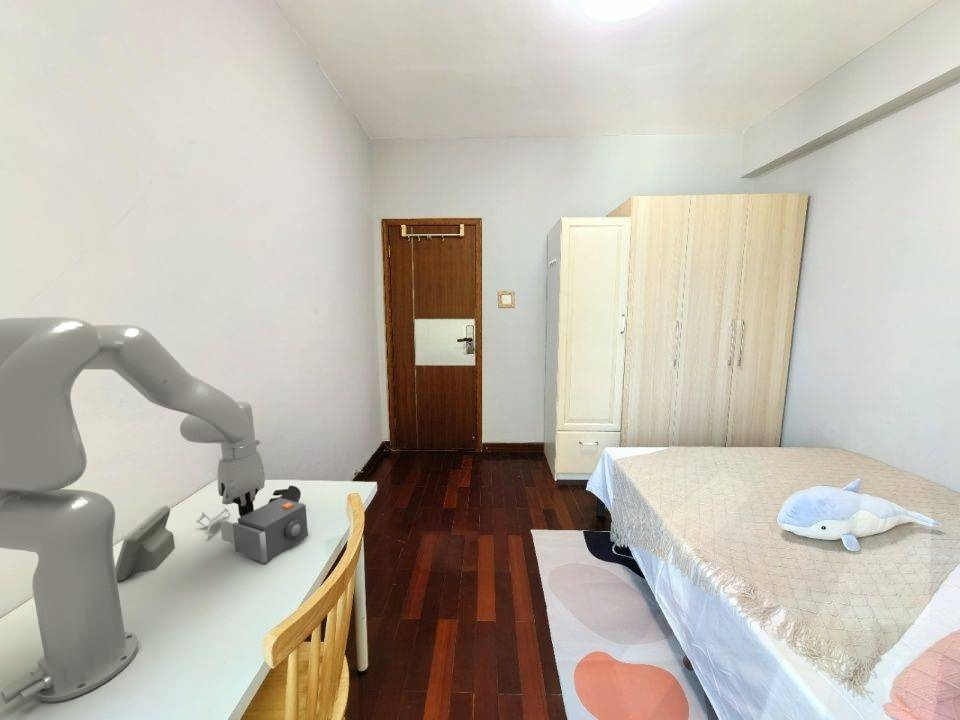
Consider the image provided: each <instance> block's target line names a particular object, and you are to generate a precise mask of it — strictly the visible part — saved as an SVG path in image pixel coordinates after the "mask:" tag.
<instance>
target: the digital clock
mask: <svg viewBox="0 0 960 720" xmlns="http://www.w3.org/2000/svg"><path fill="white" fill-rule="evenodd" d="M170 514H171V508H170V507H169V506H168V505H164V506H161V507H159V508H157V509H156V510H155V511H154V512H153V513H152V514H150V515H149V516H148V517H147V518H146V519H144V520H143V521H142V522H141V523H139V525H137V526H136V527H135V528H134V529H132V530H131V531H130V532H129V533H128V534H127V535H126V536H125V537H124V539H123V542H122V545H121V548H120V550H119V554H118V558H117V561H116V563H115V570H116V577H117V582H120V581H123V580H125V579H127V578H128V577H129V576H131V574H132V573H140V572H147V571H148V572H149V571H155V570H156V569H157V568H158V567H159V566H160V565H161V564H162V562H163V561H164V560H165V559H166V558H168V556H169V555H170V554H171V552H172V551H174V549H175V546H176V545H175V538H174V533H173V532H172V531H171V530H168V529H167V528H166V527H167V523H168V519H169V517H170Z"/></svg>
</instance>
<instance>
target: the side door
mask: <svg viewBox="0 0 960 720" xmlns="http://www.w3.org/2000/svg"><path fill="white" fill-rule="evenodd" d="M220 529H221V530H220V532H221V539H222V541H224V542H226V543H230V544H233V545H234V550H235V551H234V552H235V553H237V554H240V555H242V556H245V557H248V558H251V559H253V560H255V561H258V562H260V563H262V564H266V563H268V562H269V561H268V560H267V549H266V538H265V531H260V530H257V529H254V528H251V527H248V526H245V525H242V524H239V523H237V522H234V523H233V522H230V521H229V520H227V521H226V519H223V520H220ZM267 561H268V562H267Z"/></svg>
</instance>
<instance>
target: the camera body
mask: <svg viewBox="0 0 960 720" xmlns="http://www.w3.org/2000/svg"><path fill="white" fill-rule="evenodd" d="M277 498H278V497H277ZM237 522H238V523H239V524H242V525H245V526H248V527H251V528H254V529H257V530H260V531H265V538H266V549H267V560H268V561H267V562H266V563H268V562H270V561H271V560H273V559H274V558H276V557H278V556H279V555H281V554H282V553H284V552H285V551H287V550H288V549H290V548H292V547H293V546H295V545H296V544H298V543H300V542H301V541H303V540H304V539H306V538H307V537H308V536H309V531H308V519H307V507H306V504H305V503H301V502H298V503H297V502H294V501H290V500H286V499H283V498H278V499H276V500H274V501H272V502H270V503H268V502H267V504H265V505H263V506H260V507H258V508H256V509H254V511H252V512H250V513H248V514H246V515H244V516H242V517H241V516H240V517H237Z"/></svg>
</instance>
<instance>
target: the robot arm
mask: <svg viewBox="0 0 960 720" xmlns="http://www.w3.org/2000/svg"><path fill="white" fill-rule="evenodd" d="M84 370H110V371H113V372H115V373H117V374H118V375H119V376H120V377H121V378H122V379H124V381H126V382H127V383H128V384H129V385H130V386H131V387H132V388H134V389H135V390H136V391H137V392H138V393H140V395H142V397H144V398H145V399H146V400H147V401H149V402H150V403H152V404H154V405H157V406H159V407H161V408H163V409H167V410H171V411H176V412H180V413H184V414H188V415H187V416H186V417H184V419H183V420H182V421H181V423H180V426H179V431H180V435H181V437H183V439H185V440H186V441H188V442H192V443H197V444H219V445H220V448H221V456H222V458H220V459H219V460H218V464H217V466H218V467H217V490H218V495H219V497H222V502H221V503H223V505H231V504H236V505H237V507H238V514H239V515H238V516H240V517H242V516H244V515H246V514H248V513H250V512H252V511H254V510H255V509H254V507H255V506H254V502H255V500H256V496H257V494H258V493H259V491H261V490H262V489H264V488H265V482H266V475H265V468H264V464H263V460H262V456H261V455H260V452H259V450H258V449H257V446H258V445H260V440H259V439H256V436H255V425H254V416H253V409H252V405H251V404H250V403H249V402H247V401H246V402H245V401H235V400H234V399H233V398H232V397H231V396H229V395H228V394H227V393H225V392H224V391H222V390H220V389H218V388H216V387H215V386H212V385H210V384H209V383H207V382H205V381H203V380H201V379H199V378H197V377H195V376H193V375H192V374H190V373H189V372H188V371H187V370H186V369H185V368H184V367H183V366H182V364H181V363H180V362H178V360H177V359H176V358H175V357H174V356H173V355H172V353H170V352H169V351H168V350H167V348H165V347H164V346H163V345H162V344H161V342H160V341H158V339H157V338H156V337H155V336H154V335H153V334H151V332H149V331H148V330H146V329H145V328H142V327H140V326H136V325H130V324H127V325H126V324H114V325H112V324H111V325H110V324H109V325H107V324H106V325H105V324H104V325H103V324H102V325H100V324H98V325H97V324H96V325H93V324H91V323H90V322H89V321H88V322H87V321H85V320H83V319H78V318H73V317H66V316H65V317H64V316H62V317H61V316H42V317H41V316H40V317H13V318H12V317H11V318H2V319H0V548H1V549H4V550H5V549H7V550H16V551H26V552H30V553H35V554H36V555H37V557H38V561H37V565H36V568H35V570H34V573H33V575H32V582H31V584H32V585H31V586H32V594H33V595H32V597H33V600H34V605H35V611H36V616H37V622H38V627H39V631H40V634H39V635H40V639H41V644H42V651H43V656H44V657H42V658H41V659H39V660H37V664H38V665H37V666H38V668H36V669H35V670H33V671H31V672H30V675H28V676H26V677H24V678H23V679H20V680H19V681H17V682H15V683H13V684H12V685H10V686H8V687H6V688H5V689H3V690H2V691H0V695H1V698H2V700H3V702H4V704H7V703H9V702H10V701H12V700H14V699H15V698H17V697H19V696H20V698H21V701H22V702H25V701H26V700H28V699H30V698H32V697H33V696H36V698H37V699H38V700H40V701H42V702H45V703H48V702H49V703H51V702H52V703H55V702H56V703H57V702H62V701H66V700H70V699H73V697H74V698H75V697H79V696H82V695H83V694H86V693H88V692H90V691H92V690H95V689H96V688H97V687H100V686H101V685H103V684H104V683H106V682H109V680H111V679H113V677H115V676H116V675H117V674H119V673H121V671H123V669H124V668H126V666H128V664H130V662H131V661H132V660H133V659H134V657H135V656H136V654H137V652H138V649H139V640H138V637H137V635H136V634H135V633H133V632H128V631H125V626H124V619H123V613H122V606H121V598H120V591H119V584H118V581H117V577H116V570H115V567H116V563H115V556H114V542H113V541H114V532H115V526H116V524H115V523H116V511H115V507H114V504H113V503H112V502H111V500H110V499H108V498H107V497H106V496H105V495H103V494H100V493H97V492H94V491H90V490H83V489H70V488H69V489H67V488H66V487H69V486H71V485H73V484H74V483H76V482H77V481H78V480H80V478H81V477H83V475H84V473H85V471H86V468H87V462H88V461H87V454H86V450H85V446H84V443H83V439H82V436H81V434H80V431H79V427H78V424H77V421H76V417H75V415H74V410H73V405H72V399H71V393H72V389H73V387H74V384H75V382H76V381H77V378H78V377H79V376H80V374H81V373H82V372H83V371H84Z"/></svg>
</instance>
